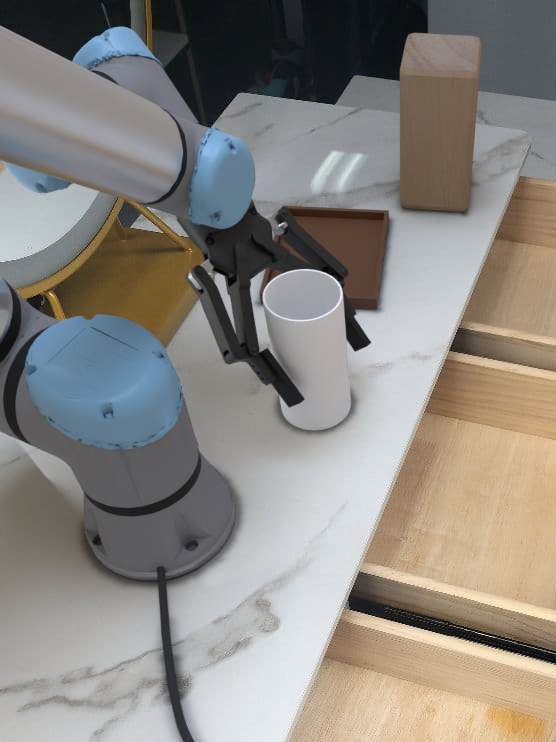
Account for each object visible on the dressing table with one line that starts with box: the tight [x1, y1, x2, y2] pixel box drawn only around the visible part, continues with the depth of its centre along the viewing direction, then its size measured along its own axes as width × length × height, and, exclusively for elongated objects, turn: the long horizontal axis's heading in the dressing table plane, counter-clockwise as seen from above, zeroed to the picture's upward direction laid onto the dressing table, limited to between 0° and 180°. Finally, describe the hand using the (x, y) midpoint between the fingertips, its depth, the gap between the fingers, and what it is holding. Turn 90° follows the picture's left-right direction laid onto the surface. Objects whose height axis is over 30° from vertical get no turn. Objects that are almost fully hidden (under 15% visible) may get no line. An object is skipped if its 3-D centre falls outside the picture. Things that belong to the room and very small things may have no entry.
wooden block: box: [399, 32, 483, 212], centre depth 112 cm, size 10×10×20 cm
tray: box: [259, 205, 390, 310], centre depth 111 cm, size 19×15×2 cm
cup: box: [262, 269, 352, 431], centre depth 90 cm, size 8×8×16 cm
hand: (330, 374), depth 90 cm, fingers open, 10 cm apart
